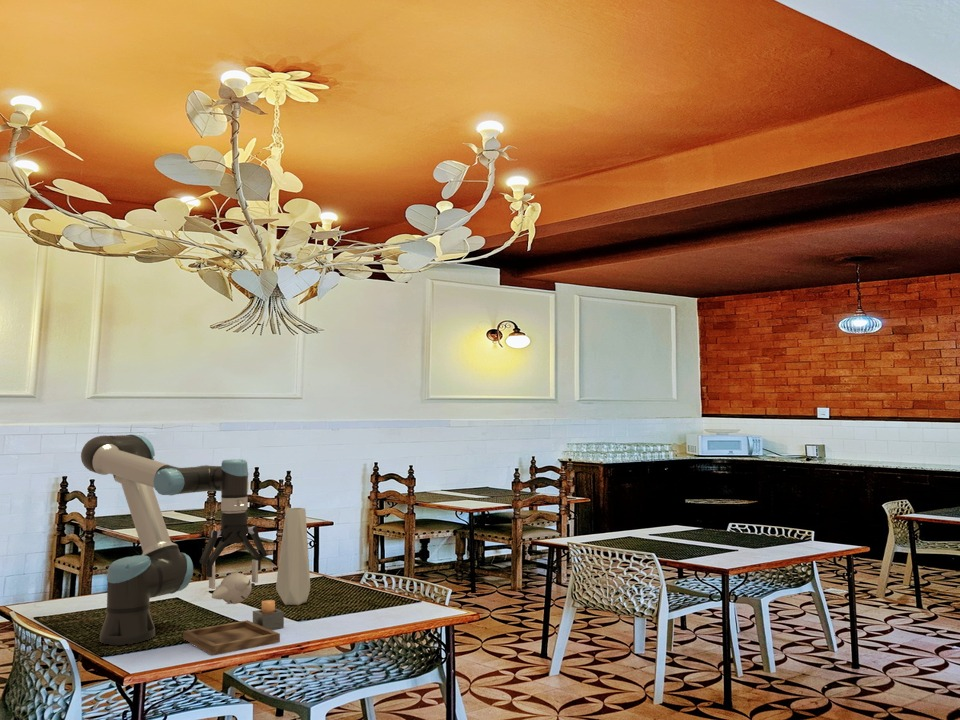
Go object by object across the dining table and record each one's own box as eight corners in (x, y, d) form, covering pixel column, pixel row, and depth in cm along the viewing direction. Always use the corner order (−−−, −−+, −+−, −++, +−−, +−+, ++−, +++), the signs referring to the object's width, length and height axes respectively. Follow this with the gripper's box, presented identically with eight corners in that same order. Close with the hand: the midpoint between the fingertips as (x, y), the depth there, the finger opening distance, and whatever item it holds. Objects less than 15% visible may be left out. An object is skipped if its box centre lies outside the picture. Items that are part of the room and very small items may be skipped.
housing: (262, 631, 250) (262, 615, 250) (252, 627, 255) (252, 611, 256) (283, 627, 255) (283, 611, 255) (273, 623, 260) (273, 607, 260)
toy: (225, 613, 248) (207, 612, 234) (217, 585, 250) (199, 582, 236) (267, 596, 249) (252, 594, 235) (258, 568, 252) (243, 565, 237)
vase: (300, 608, 282) (301, 510, 284) (271, 605, 286) (272, 510, 288) (319, 600, 293) (319, 507, 296) (291, 598, 297) (291, 506, 300)
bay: (212, 655, 225) (212, 646, 225) (183, 639, 242) (183, 631, 242) (279, 642, 238) (279, 633, 238) (247, 628, 255) (247, 620, 255)
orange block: (265, 620, 252) (265, 603, 253) (259, 617, 255) (259, 601, 256) (277, 617, 255) (277, 601, 255) (271, 615, 258) (271, 599, 258)
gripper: (198, 516, 233) (197, 592, 232) (278, 509, 249) (278, 581, 248) (188, 514, 239) (187, 589, 237) (267, 507, 255) (266, 577, 253)
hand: (233, 585), depth 243 cm, fingers closed on toy, 12 cm apart
